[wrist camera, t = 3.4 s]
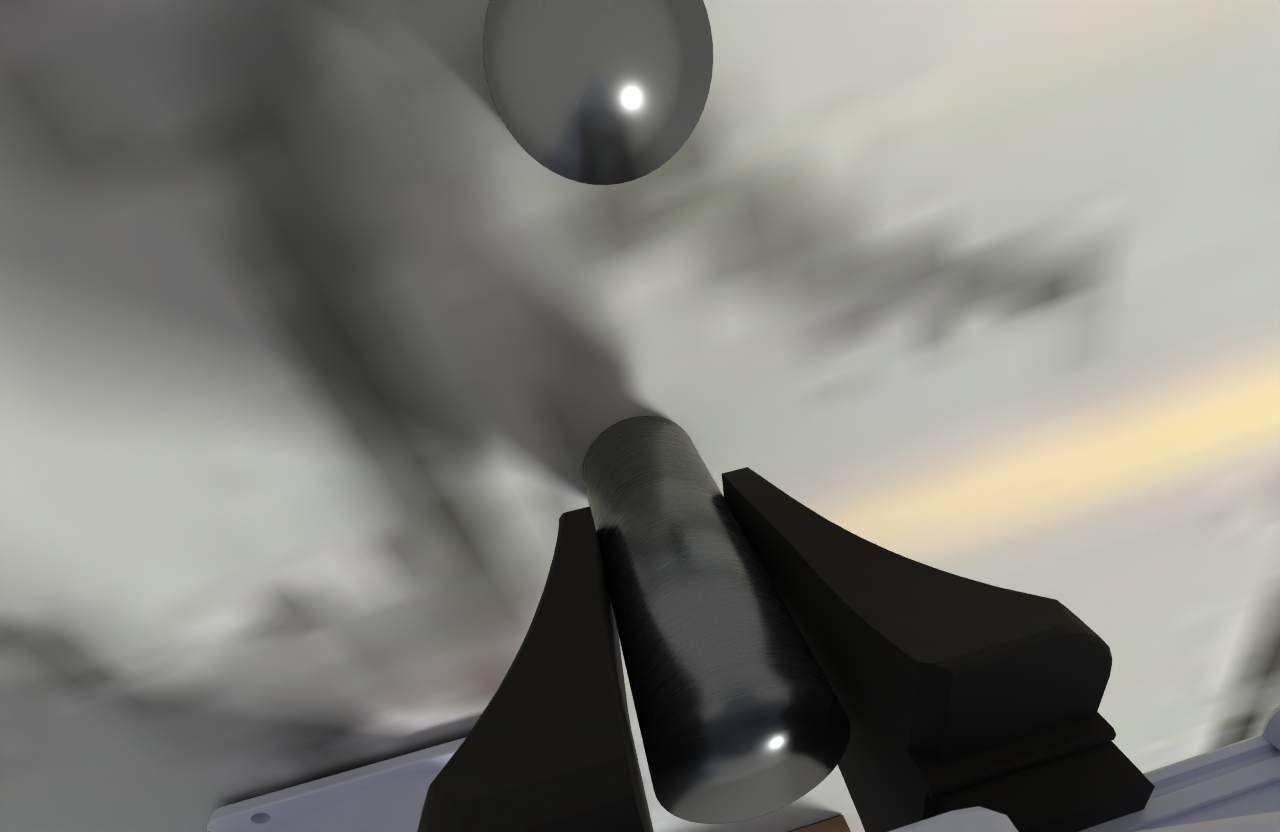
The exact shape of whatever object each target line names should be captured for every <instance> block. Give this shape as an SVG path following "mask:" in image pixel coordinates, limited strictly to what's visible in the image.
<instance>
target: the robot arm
mask: <svg viewBox="0 0 1280 832" xmlns="http://www.w3.org/2000/svg"><path fill="white" fill-rule="evenodd" d="M722 481H723V491H724V499H725V500H726V502H727V504H728V506H729V507H730V509H731V511H732V513H733V514H734V516H735V518H736V520H737V521H738V523H739V525H740V527H741V528H742V530H743V532H744V534H745V535H746V537H747V539H748V541H749V543H750V544H751V546H752V548H753V550H754V551H755V553H756V555H757V557H758V558H759V560H760V562H761V564H762V565H763V567H764V569H765V571H766V572H767V574H768V576H769V578H770V579H771V581H772V583H773V585H774V586H775V588H776V590H777V592H778V594H779V595H780V597H781V599H782V601H783V602H784V604H785V606H786V608H787V609H788V611H789V613H790V615H791V616H792V618H793V620H794V622H795V623H796V625H797V627H798V629H799V630H800V632H801V634H802V636H803V637H804V639H805V641H806V643H807V644H808V646H809V648H810V650H811V652H812V653H813V655H814V657H815V659H816V660H817V662H818V664H819V666H820V667H821V669H822V671H823V673H824V674H825V676H826V678H827V680H828V681H829V683H830V685H831V687H832V688H833V690H834V692H835V694H836V695H837V697H838V699H839V701H840V703H841V704H842V706H843V708H844V710H845V711H846V713H847V715H848V718H849V721H850V729H851V732H850V739H849V742H848V746H847V748H846V750H845V753H844V755H843V757H842V758H841V760H840V761H839V763H838V766H839V769H840V771H841V773H842V776H843V778H844V781H845V783H846V786H847V788H848V790H849V793H850V795H851V798H852V800H853V802H854V805H855V807H856V810H857V812H858V815H859V817H860V819H861V822H862V825H863V827H864V830H865V832H1280V705H1279V706H1278V707H1276V708H1275V709H1274V710H1273V711H1272V712H1271V714H1270V715H1269V716H1268V718H1267V720H1266V721H1265V724H1264V726H1263V728H1262V734H1261V735H1258V736H1255V737H1252V738H1249V739H1246V740H1243V741H1240V742H1237V743H1234V744H1231V745H1228V746H1225V747H1222V748H1219V749H1216V750H1213V751H1210V752H1207V753H1204V754H1201V755H1198V756H1195V757H1192V758H1189V759H1186V760H1183V761H1180V762H1177V763H1174V764H1171V765H1168V766H1165V767H1162V768H1159V769H1156V770H1153V771H1150V772H1147V773H1144V774H1142V772H1141V771H1140V770H1139V769H1138V768H1137V767H1136V766H1135V765H1134V764H1133V763H1132V762H1131V761H1130V760H1129V759H1128V758H1127V757H1126V756H1125V755H1124V754H1123V753H1122V752H1121V751H1120V749H1119V748H1118V747H1117V746H1116V745H1115V744H1114V743H1113V742H1112V741H1111V740H1114V739H1115V736H1116V733H1115V731H1114V728H1113V727H1112V726H1111V725H1110V724H1109V723H1108V722H1107V721H1106V720H1105V719H1104V718H1103V717H1102V716H1101V715H1100V714H1099V713H1098V712H1097V710H1098V708H1099V705H1100V702H1101V699H1102V696H1103V694H1104V691H1105V688H1106V685H1107V682H1108V680H1109V677H1110V672H1111V666H1112V656H1111V652H1110V648H1109V646H1108V645H1107V644H1106V643H1105V642H1104V641H1103V640H1102V639H1101V638H1100V637H1099V636H1098V635H1097V634H1096V633H1095V632H1094V631H1092V630H1091V629H1090V628H1089V627H1088V626H1087V625H1086V624H1085V623H1084V622H1083V621H1082V620H1080V619H1079V618H1078V617H1077V616H1076V615H1075V614H1073V613H1072V612H1071V611H1070V610H1069V609H1068V608H1066V607H1065V606H1064V605H1063V604H1061V603H1060V602H1059V601H1058V600H1055V599H1050V598H1046V597H1041V596H1036V595H1032V594H1027V593H1023V592H1018V591H1013V590H1009V589H1004V588H1000V587H996V586H992V585H989V584H985V583H981V582H978V581H974V580H971V579H967V578H964V577H960V576H957V575H954V574H951V573H948V572H945V571H941V570H939V569H936V568H933V567H930V566H927V565H925V564H922V563H919V562H916V561H914V560H911V559H908V558H906V557H903V556H901V555H898V554H896V553H894V552H891V551H889V550H887V549H885V548H882V547H880V546H878V545H876V544H873V543H871V542H869V541H867V540H865V539H863V538H861V537H859V536H857V535H855V534H853V533H851V532H849V531H847V530H845V529H843V528H842V527H840V526H838V525H836V524H834V523H832V522H831V521H829V520H827V519H825V518H824V517H822V516H820V515H819V514H817V513H815V512H814V511H812V510H811V509H809V508H807V507H806V506H804V505H803V504H801V503H799V502H798V501H796V500H795V499H793V498H792V497H790V496H789V495H787V494H786V493H784V492H783V491H781V490H780V489H778V488H777V487H776V486H774V485H773V484H771V483H770V482H768V481H767V480H765V479H764V478H763V477H761V476H760V475H758V474H757V473H755V472H754V471H752V470H751V469H749V468H748V467H746V468H742V469H738V470H734V471H730V472H726V473H722ZM207 830H208V832H653V827H652V823H651V818H650V813H649V809H648V804H647V800H646V795H645V791H644V786H643V782H642V777H641V772H640V768H639V763H638V759H637V754H636V749H635V745H634V740H633V736H632V731H631V726H630V720H629V714H628V707H627V699H626V691H625V683H624V675H623V667H622V659H621V651H620V643H619V635H618V630H617V625H616V621H615V617H614V612H613V608H612V603H611V599H610V595H609V590H608V586H607V581H606V575H605V570H604V563H603V558H602V554H601V550H600V545H599V541H598V537H597V532H596V528H595V524H594V520H593V515H592V511H591V507H586V508H582V509H578V510H574V511H570V512H566V513H563V514H562V515H561V517H560V518H559V530H558V537H557V543H556V547H555V552H554V556H553V560H552V564H551V567H550V571H549V575H548V578H547V582H546V585H545V588H544V591H543V593H542V596H541V599H540V602H539V605H538V607H537V610H536V613H535V615H534V618H533V620H532V623H531V625H530V628H529V630H528V632H527V634H526V637H525V639H524V641H523V643H522V645H521V647H520V649H519V651H518V653H517V655H516V657H515V659H514V661H513V663H512V665H511V667H510V669H509V670H508V672H507V674H506V676H505V678H504V680H503V681H502V683H501V685H500V687H499V688H498V690H497V692H496V693H495V695H494V697H493V698H492V700H491V701H490V703H489V704H488V706H487V707H486V709H485V710H484V712H483V713H482V715H481V716H480V718H479V720H478V721H477V723H476V724H475V726H474V727H473V729H472V730H471V732H470V733H469V734H468V736H467V737H465V738H461V739H458V740H454V741H451V742H447V743H444V744H440V745H437V746H433V747H430V748H426V749H423V750H419V751H416V752H412V753H409V754H405V755H402V756H398V757H395V758H391V759H388V760H384V761H381V762H377V763H374V764H370V765H367V766H363V767H360V768H356V769H353V770H349V771H346V772H342V773H339V774H335V775H332V776H328V777H325V778H321V779H318V780H314V781H311V782H307V783H304V784H300V785H297V786H293V787H290V788H286V789H283V790H279V791H276V792H272V793H269V794H265V795H262V796H258V797H255V798H251V799H248V800H244V801H240V802H237V803H233V804H230V805H226V806H223V807H221V808H218V809H216V810H215V811H214V812H213V813H212V814H211V817H210V819H209V822H208V824H207Z"/></svg>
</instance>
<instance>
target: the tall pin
mask: <svg viewBox="0 0 1280 832" xmlns="http://www.w3.org/2000/svg"><path fill="white" fill-rule="evenodd" d="M583 479H584V484H585V489H586V493H587V498H588V502H589V506H590V507H591V511H592V515H593V520H594V524H595V528H596V532H597V537H598V541H599V545H600V550H601V554H602V558H603V563H604V570H605V575H606V581H607V586H608V590H609V595H610V599H611V603H612V608H613V612H614V617H615V621H616V625H617V630H618V634H619V639H620V643H621V647H622V652H623V656H624V661H625V665H626V669H627V674H628V678H629V683H630V687H631V691H632V696H633V700H634V705H635V709H636V713H637V718H638V722H639V727H640V731H641V735H642V740H643V744H644V749H645V753H646V757H647V762H648V766H649V771H650V775H651V779H652V784H653V788H654V792H655V795H656V798H657V799H658V801H659V802H660V804H661V805H662V806H663V807H664V808H665V809H666V810H667V811H668V812H670V813H671V814H673V815H674V816H677V817H679V818H681V819H684V820H687V821H691V822H696V823H704V824H724V823H732V822H739V821H744V820H748V819H752V818H755V817H759V816H762V815H765V814H768V813H770V812H773V811H775V810H777V809H780V808H782V807H784V806H786V805H788V804H790V803H792V802H794V801H795V800H797V799H799V798H800V797H802V796H804V795H805V794H806V793H808V792H809V791H811V790H812V789H813V788H815V787H816V786H817V785H818V784H819V783H821V782H822V781H823V780H824V779H825V778H826V777H827V776H828V775H829V774H830V773H831V772H832V770H833V769H834V768H835V767H836V766H837V764H838V763H839V761H840V760H841V758H842V757H843V755H844V753H845V750H846V748H847V746H848V742H849V739H850V732H851V729H850V721H849V718H848V715H847V713H846V711H845V710H844V708H843V706H842V704H841V703H840V701H839V699H838V697H837V695H836V694H835V692H834V690H833V688H832V687H831V685H830V683H829V681H828V680H827V678H826V676H825V674H824V673H823V671H822V669H821V667H820V666H819V664H818V662H817V660H816V659H815V657H814V655H813V653H812V652H811V650H810V648H809V646H808V644H807V643H806V641H805V639H804V637H803V636H802V634H801V632H800V630H799V629H798V627H797V625H796V623H795V622H794V620H793V618H792V616H791V615H790V613H789V611H788V609H787V608H786V606H785V604H784V602H783V601H782V599H781V597H780V595H779V594H778V592H777V590H776V588H775V586H774V585H773V583H772V581H771V579H770V578H769V576H768V574H767V572H766V571H765V569H764V567H763V565H762V564H761V562H760V560H759V558H758V557H757V555H756V553H755V551H754V550H753V548H752V546H751V544H750V543H749V541H748V539H747V537H746V535H745V534H744V532H743V530H742V528H741V527H740V525H739V523H738V521H737V520H736V518H735V516H734V514H733V513H732V511H731V509H730V507H729V506H728V504H727V502H726V500H725V499H724V497H723V495H722V493H721V492H720V490H719V488H718V486H717V485H716V483H715V481H714V479H713V477H712V476H711V474H710V472H709V470H708V469H707V467H706V465H705V463H704V462H703V460H702V458H701V456H700V455H699V453H698V451H697V449H696V448H695V446H694V444H693V442H692V441H691V439H690V437H689V436H688V434H687V433H686V432H685V431H684V430H683V429H682V428H681V427H679V426H678V425H676V424H675V423H673V422H671V421H669V420H666V419H663V418H658V417H650V416H643V417H635V418H630V419H627V420H624V421H621V422H619V423H617V424H615V425H613V426H611V427H610V428H608V429H607V430H605V431H604V432H603V433H602V434H601V435H600V436H599V437H598V438H597V439H596V440H595V441H594V442H593V444H592V445H591V447H590V448H589V450H588V452H587V454H586V457H585V460H584V465H583Z"/></svg>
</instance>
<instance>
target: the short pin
mask: <svg viewBox="0 0 1280 832" xmlns="http://www.w3.org/2000/svg"><path fill="white" fill-rule="evenodd" d="M483 50H484V65H485V70H486V76H487V81H488V85H489V88H490V91H491V95H492V98H493V101H494V103H495V105H496V108H497V110H498V112H499V115H500V116H501V118H502V120H503V122H504V123H505V125H506V127H507V129H508V130H509V131H510V133H511V134H512V135H513V137H514V138H515V140H516V141H517V142H518V143H519V144H520V145H521V146H522V148H523V149H524V150H525V151H526V152H527V153H528V154H529V155H530V156H532V157H533V158H534V159H535V160H536V161H538V162H539V163H540V164H541V165H543V166H545V167H546V168H548V169H549V170H551V171H553V172H554V173H557V174H559V175H561V176H563V177H565V178H568V179H571V180H574V181H578V182H581V183H587V184H594V185H611V184H619V183H624V182H628V181H632V180H635V179H637V178H640V177H642V176H645V175H647V174H649V173H650V172H652V171H654V170H655V169H657V168H659V167H660V166H661V165H663V164H664V163H665V162H667V161H668V160H669V159H670V158H671V157H672V156H673V155H674V154H675V153H676V152H677V151H678V150H679V149H680V148H681V147H682V146H683V144H684V143H685V142H686V140H687V139H688V138H689V136H690V135H691V133H692V131H693V130H694V128H695V126H696V125H697V123H698V121H699V118H700V116H701V114H702V112H703V109H704V106H705V103H706V100H707V97H708V93H709V88H710V83H711V78H712V67H713V42H712V35H711V27H710V23H709V19H708V15H707V10H706V7H705V5H704V2H703V0H490V2H489V5H488V8H487V14H486V19H485V25H484V40H483Z"/></svg>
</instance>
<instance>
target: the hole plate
mask: <svg viewBox="0 0 1280 832" xmlns="http://www.w3.org/2000/svg"><path fill="white" fill-rule="evenodd" d="M791 832H851V831H850V829H849V827H848V825H847V823H846V821H845V819H844V817H843V815H841V816H838V817H835V818H832V819H829V820H826V821H822V822H819V823H816V824H813V825H810V826H807V827H804V828H801V829H798V830H794V831H791Z"/></svg>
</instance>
